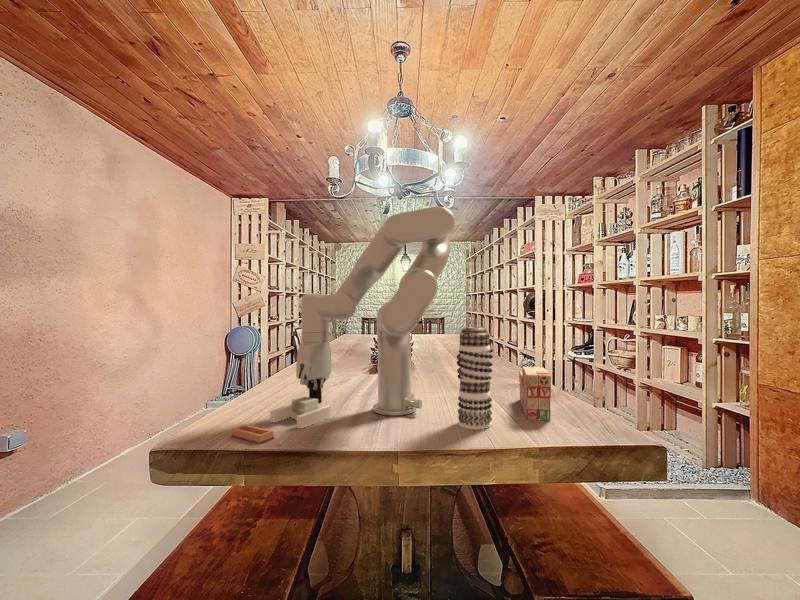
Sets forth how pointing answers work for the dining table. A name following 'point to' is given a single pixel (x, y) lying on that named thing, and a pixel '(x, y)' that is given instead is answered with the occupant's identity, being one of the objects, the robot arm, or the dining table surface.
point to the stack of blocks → (535, 392)
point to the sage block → (303, 406)
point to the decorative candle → (474, 378)
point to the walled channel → (302, 419)
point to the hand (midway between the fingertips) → (315, 402)
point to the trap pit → (252, 434)
